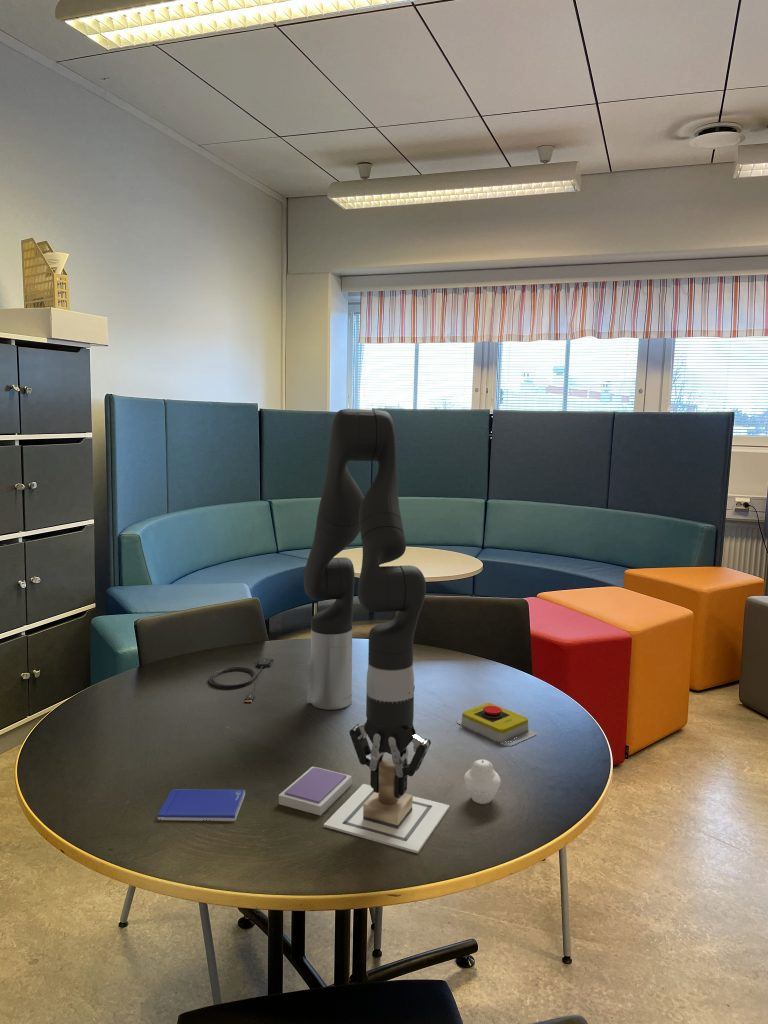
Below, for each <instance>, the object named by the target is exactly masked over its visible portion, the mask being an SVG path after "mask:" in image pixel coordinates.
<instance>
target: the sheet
mask: <svg viewBox="0 0 768 1024" xmlns="http://www.w3.org/2000/svg"><path fill="white" fill-rule="evenodd" d="M373 793H374V792H373V788H371V785H370V784H367V783H362V784H361V785H360V786H359V788H358V789H357V790H356V791H354V792H353V794H352V795H351V796H349V798H348V799H347V800H346V801H345V802H344V803H343V804H342V805H341V806H340V807H339V808H338V809H337V810H336V811H335V812H334V813H333V814H332V815H331V816H330V818H328V819H327V820H326V822H324V823H323V828H327V829H330V830H335V831H337V832H342V833H345V834H347V835H352V836H355V837H358V838H362V839H366V840H368V841H369V840H370V841H372V842H376V843H380V844H383V845H386V846H390V847H392V848H397V849H400V850H403V851H407V852H410V853H411V852H412V853H415V854H419V853H420V851H421V850H422V848H423V847H424V846H425V844H426V843H427V841H428V840H429V838H430V837H431V835H433V832H434V831H435V829H436V828H437V827H438V825H439V824H440V822H441V821H442V819H444V818H443V817H444V816H445V815H446V813H447V812H448V811H449V809H450V807H451V806H450V805H449V804H446V803H442V802H438V801H434V800H430V799H426V798H422V797H418V796H413V801H412V811H411V812H410V814H409V815H408V816H407V817H406V819H405V820H404V821H403V823H402V824H401V825H400V827H399V828H398V829H396V828H393V827H389V826H385V825H382V824H378V823H374V822H371V821H367V820H363V804H364V803H365V802H366V801H367V800H368V799H369V798H370V796H371V795H372V794H373Z"/></svg>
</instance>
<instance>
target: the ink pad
mask: <svg viewBox="0 0 768 1024" xmlns="http://www.w3.org/2000/svg"><path fill="white" fill-rule="evenodd" d="M352 784H353V776H352V775H349V774H345V773H341V772H337V771H333V770H328V769H325V768H321V767H317V766H311V767H310V768H308V770H307V771H305V772H304V773H303V774H302V775H300V777H298V778H297V779H296V780H294V781H293V782H292V783H291V784H290V785H288V787H287V788H285V789H284V790H283V791H281V793H279V794H278V804H279V805H280V806H284V807H287V808H288V807H289V808H290V809H291V808H292V809H295V810H300V811H302V812H305V813H311V814H314V815H317V816H322V815H323V814H324V813H325V812H326V811H327V810H328V809H329V808H330V807H331V806H332V805H333V804H334V803H335V802H336V801H337V800H338V799H339V798H341V796H342V795H343V794H344V793H345V792H347V790H348V789H349V788H350V787H351V786H352Z"/></svg>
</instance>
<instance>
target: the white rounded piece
mask: <svg viewBox="0 0 768 1024" xmlns="http://www.w3.org/2000/svg"><path fill="white" fill-rule="evenodd" d="M463 781H464V783H465V788H466V790H467V791H468V794H469V796H470V797H471V800H472V801H473V802H475V803H477V804H481V805H486V804H489V803H490V802H492V800H493V799H494V797H495V795H496V794H497V792H498V790H499V787H500V786H501V777H500V775H499V774H498V772H497V771H495V769H494V766H493V764H492V763H491V761H489V760H487V759H483V758H482V759H477V760H475V761H474V762H472V764H471V768H470V769H468V770H467V771H466V772H465V774H464V776H463Z"/></svg>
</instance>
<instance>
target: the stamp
mask: <svg viewBox="0 0 768 1024" xmlns="http://www.w3.org/2000/svg"><path fill="white" fill-rule="evenodd" d="M395 776H396V770H395V764H394V763H393V761H392V759H383V761H381V762H380V763H379V789H378V793H376V792H374V793H373V794H372V795H371V796H370V798H369V799H368V800H367V801H366V802H365V803H364V804H363V820H367V821H371V822H374V823H378V824H382V825H385V826H389V827H393V828H396V829H398V828H399V827H400V825H401V824H402V823H403V821H404V820H405V819H406V817H407V816H408V815H409V814H410V812H411V811H412V801H413V794H410V793H406V792H405V793H404V794H403V796H401V797H400V798H395Z"/></svg>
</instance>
